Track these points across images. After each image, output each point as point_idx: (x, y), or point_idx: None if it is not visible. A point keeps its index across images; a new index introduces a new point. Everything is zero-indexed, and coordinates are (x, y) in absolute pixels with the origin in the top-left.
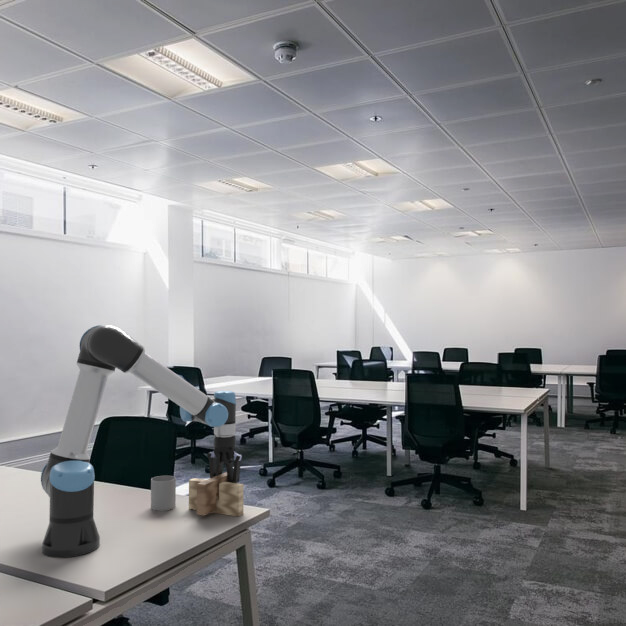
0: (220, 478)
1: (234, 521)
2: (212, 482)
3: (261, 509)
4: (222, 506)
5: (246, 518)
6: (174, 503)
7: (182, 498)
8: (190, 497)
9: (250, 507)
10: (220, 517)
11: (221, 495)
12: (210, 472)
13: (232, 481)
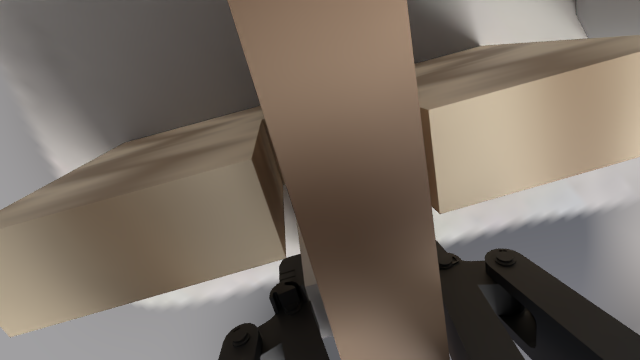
0: (305, 246)
1: (47, 51)
2: (234, 13)
3: (150, 299)
4: (233, 119)
5: (55, 147)
6: (602, 3)
7: (626, 165)
8: (524, 46)
9: (222, 285)
10: (193, 54)
11: (232, 134)
12: (584, 308)
13: (273, 340)
